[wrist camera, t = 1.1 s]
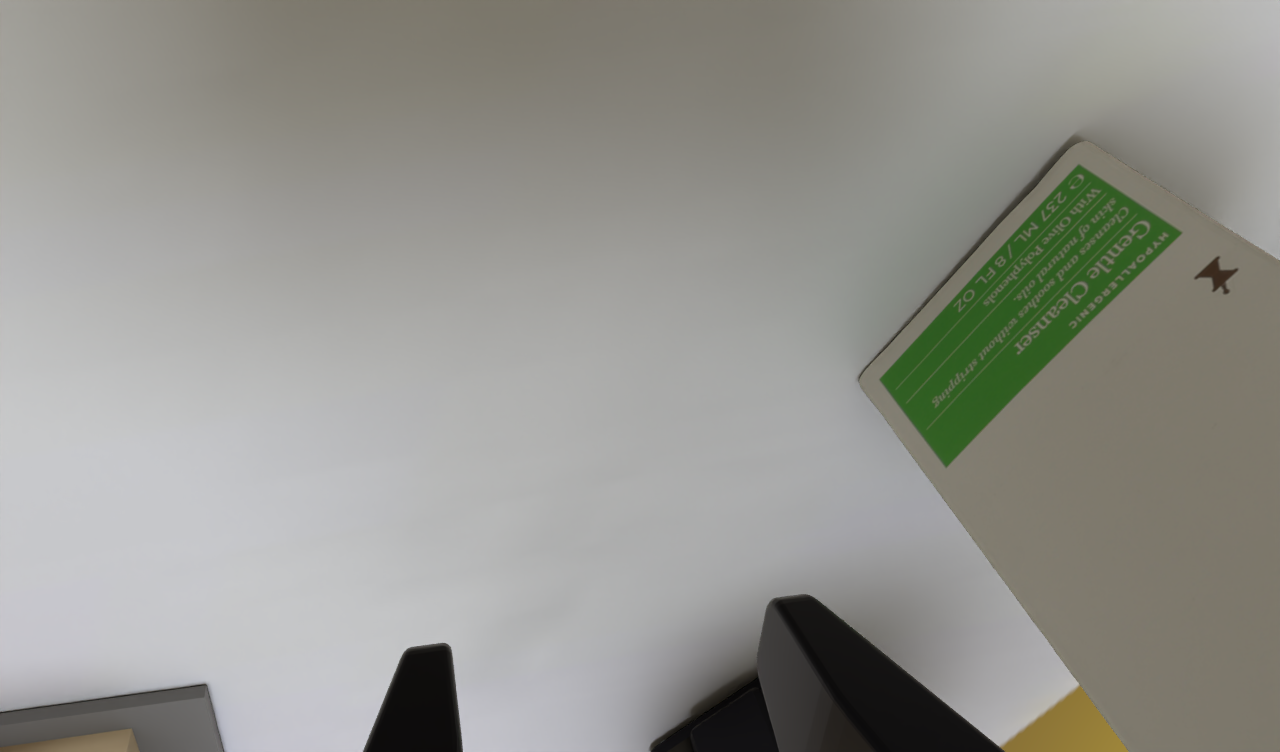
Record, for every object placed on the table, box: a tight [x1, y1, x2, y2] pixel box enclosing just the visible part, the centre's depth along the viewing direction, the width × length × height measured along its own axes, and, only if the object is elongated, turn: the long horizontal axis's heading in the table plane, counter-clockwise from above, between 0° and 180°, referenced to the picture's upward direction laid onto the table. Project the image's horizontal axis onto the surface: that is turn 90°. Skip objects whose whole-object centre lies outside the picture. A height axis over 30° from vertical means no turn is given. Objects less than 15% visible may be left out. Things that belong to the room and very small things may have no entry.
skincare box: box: [859, 141, 1280, 752], centre depth 20 cm, size 8×7×16 cm
